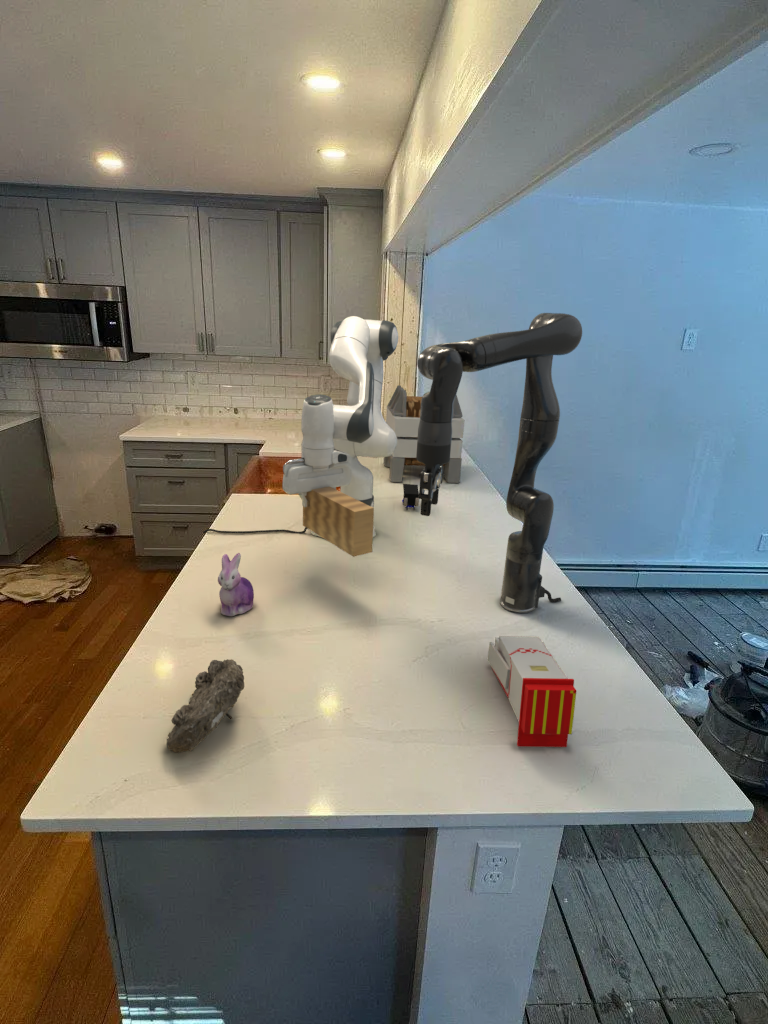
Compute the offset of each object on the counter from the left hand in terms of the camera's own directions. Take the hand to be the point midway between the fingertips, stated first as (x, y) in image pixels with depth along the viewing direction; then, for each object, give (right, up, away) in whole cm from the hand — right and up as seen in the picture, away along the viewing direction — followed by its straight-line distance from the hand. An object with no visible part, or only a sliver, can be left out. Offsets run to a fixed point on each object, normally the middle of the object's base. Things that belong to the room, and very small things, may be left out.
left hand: (317, 504), depth 159 cm
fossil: (-14, -41, -51) cm, 67 cm away
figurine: (-19, -27, -12) cm, 36 cm away
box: (+6, -9, -5) cm, 12 cm away
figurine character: (+29, 0, +69) cm, 75 cm away
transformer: (+36, +17, +116) cm, 123 cm away
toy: (+47, -41, -42) cm, 75 cm away
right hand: (+29, -2, -28) cm, 40 cm away
